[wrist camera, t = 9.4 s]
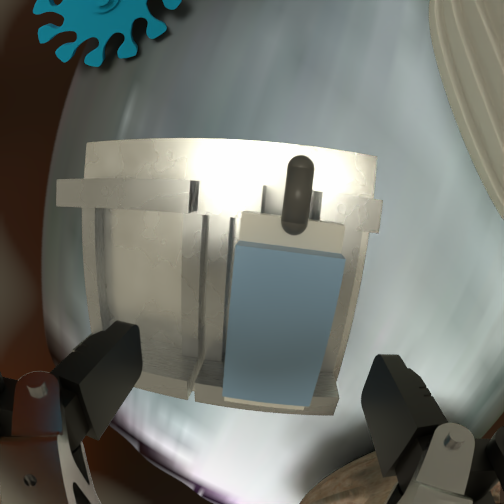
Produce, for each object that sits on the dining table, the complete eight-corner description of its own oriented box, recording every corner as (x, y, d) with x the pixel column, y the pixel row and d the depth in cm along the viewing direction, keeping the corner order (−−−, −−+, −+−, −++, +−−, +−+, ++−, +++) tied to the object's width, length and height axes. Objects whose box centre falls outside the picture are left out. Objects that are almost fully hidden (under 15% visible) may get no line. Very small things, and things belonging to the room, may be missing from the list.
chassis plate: (97, 144, 16) (51, 137, 12) (370, 158, 15) (401, 149, 10) (106, 359, 20) (76, 391, 15) (326, 395, 19) (334, 440, 14)
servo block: (257, 159, 14) (246, 146, 10) (334, 169, 14) (359, 162, 9) (235, 357, 17) (220, 412, 12) (300, 366, 17) (304, 422, 12)
